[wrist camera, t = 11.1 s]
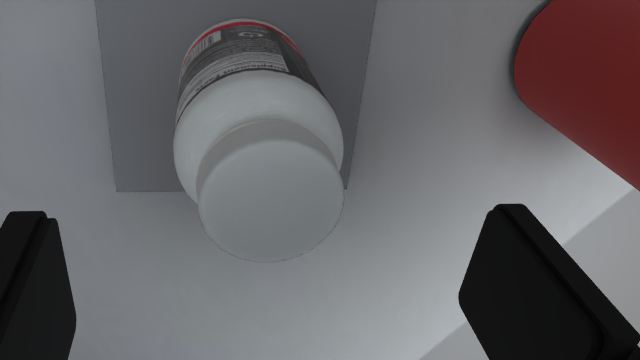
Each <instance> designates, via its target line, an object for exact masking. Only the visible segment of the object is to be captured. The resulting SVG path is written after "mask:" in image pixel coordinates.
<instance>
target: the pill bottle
mask: <svg viewBox="0 0 640 360" xmlns="http://www.w3.org/2000/svg"><path fill="white" fill-rule="evenodd" d="M343 149H344V147H343V137H342V132H341V128H340V125H339V122H338V119H337V117H336V114H335V112H334V109H333V107H332V106H331V104H330V103H329V101H328V100H327V98H326V97H325V95H324V94H323V92H322V90H321V88H320V87H319V85H318V83H317V81H316V79H315V77H314V75H313V73H312V71H311V70H310V68H309V66H308V64H307V62H306V60H305V58H304V57H303V55H302V53H301V52H300V50H299V49H298V47H297V46H296V44H295V43H294V42H293V40H292V39H291V38H290V37H289V36H288V35H286V34H285V33H284V32H283V31H281V30H280V29H278V28H277V27H275V26H273V25H271V24H269V23H266V22H263V21H259V20H253V19H231V20H228V21H224V22H221V23H219V24H216V25H214V26H212V27H210V28H208V29H207V30H205V31H204V32H203V33H202V34H201V35H199V36H198V37H197V38H196V40H195V41H194V42H193V43H192V44H191V46H190V48H189V49H188V51H187V53H186V55H185V58H184V60H183V64H182V68H181V73H180V78H179V89H178V100H177V112H176V122H175V129H174V140H173V151H174V162H175V168H176V171H177V175H178V177H179V180H180V182H181V184H182V186H183V188H184V190H185V191H186V193H187V194H188V195H189V197H190V198H191V199H192V200H193V201H194V202H195V203H196V204H197V205H198V211H199V216H200V220H201V223H202V225H203V227H204V229H205V231H206V233H207V234H208V236H209V237H210V239H211V240H212V241H213V242H214V243H215V244H216V245H217V246H219V247H220V248H221V249H222V250H224V251H226V252H227V253H229V254H231V255H233V256H236V257H238V258H241V259H244V260H248V261H254V262H277V261H283V260H288V259H291V258H294V257H297V256H299V255H302V254H303V253H305V252H308V251H309V250H311V249H313V248H314V247H315V246H317V245H318V244H320V243H321V242H322V241H323V240H324V239H325V238H326V237H327V236H328V235H329V234H330V233H331V231H332V230H333V229H334V227H335V226H336V224H337V222H338V220H339V218H340V215H341V212H342V209H343V204H344V187H343V182H342V178H341V176H340V173H339V172H340V168H341V165H342V160H343Z"/></svg>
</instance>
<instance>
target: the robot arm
mask: <svg viewBox="0 0 640 360" xmlns="http://www.w3.org/2000/svg"><path fill="white" fill-rule="evenodd" d="M458 298H459V304H460V307H461V309H462V311H463V313H464V314H465V316H466V318H467V320H468V322H469V324H470V325H471V327H472V329H473V331H474V333H475V334H476V336H477V338H478V340H479V342H480V343H481V345H482V347H483V349H484V351H485V353H486V354H487V356H488V358H489V360H640V348H639V347H638V345H637V344H638V343H639V341H640V334H639V333H638V332H637V331H636V330H635V329H634V328H633V327H632V325H631V324H630V323H629V322H628V321H627V320H626V319H625V318H624V316H623V315H622V314H621V313H620V312H619V311H618V310H617V309H616V307H615V306H614V305H613V304H612V303H611V302H610V301H609V300H608V298H607V297H606V296H605V295H604V294H603V293H602V292H601V291H600V289H598V287H597V286H596V285H595V284H594V283H593V281H592V280H591V279H590V278H589V277H588V276H587V275H586V274H585V272H584V271H583V270H582V269H581V268H580V267H579V266H578V265H577V263H576V262H575V261H574V260H573V259H572V258H571V257H570V256H569V254H568V253H567V252H566V251H565V250H564V249H563V248H562V247H561V245H560V244H559V243H558V242H557V241H556V240H555V239H554V237H553V236H552V235H551V234H550V233H549V232H548V231H547V230H546V228H545V227H544V226H543V225H542V224H541V223H540V222H539V221H538V219H537V218H536V217H535V216H534V215H533V214H532V213H531V212H530V210H529V209H528V208H527V207H526V206H525V205H523V204H498V205H496V206H495V207H494V209H493V210H491V211H489V212H488V214H487V216H486V218H485V221H484V224H483V227H482V229H481V232H480V235H479V238H478V241H477V243H476V246H475V249H474V252H473V254H472V257H471V260H470V263H469V266H468V268H467V271H466V274H465V277H464V280H463V282H462V285H461V288H460V291H459V297H458ZM75 329H76V311H75V306H74V302H73V297H72V292H71V287H70V282H69V277H68V272H67V267H66V262H65V257H64V252H63V247H62V242H61V237H60V232H59V227H58V223H57V220H56V219H55V218H47V215H46V214H45V212H43V211H14V212H10V213H9V214H8V215H7V217H6V219H5V221H4V223H3V224H2V226H1V228H0V360H68V356H69V352H70V349H71V345H72V341H73V338H74V334H75Z"/></svg>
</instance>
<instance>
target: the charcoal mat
mask: <svg viewBox="0 0 640 360" xmlns="http://www.w3.org/2000/svg"><path fill="white" fill-rule="evenodd" d="M376 3H377V0H95V6H96V14H97V23H98V32H99V41H100V50H101V59H102V68H103V77H104V86H105V94H106V103H107V112H108V121H109V130H110V139H111V148H112V157H113V166H114V174H115V183H116V192H166V191H185V190H184V188H183V186H182V184H181V182H180V180H179V177H178V175H177V171H176V168H175V162H174V151H173V140H174V129H175V122H176V112H177V100H178V89H179V78H180V73H181V68H182V64H183V60H184V58H185V55H186V53H187V51H188V49H189V48H190V46H191V44H192V43H193V42H194V41H195V40H196V38H197V37H198V36H199V35H201V34H202V33H203V32H204V31H205V30H207V29H208V28H210V27H212V26H214V25H216V24H219V23H221V22H224V21H228V20H231V19H253V20H259V21H263V22H266V23H269V24H271V25H273V26H275V27H277V28H278V29H280V30H281V31H283V32H284V33H285V34H286V35H288V36H289V37H290V38H291V39H292V40H293V42H294V43H295V44H296V46H297V47H298V49H299V50H300V52H301V53H302V55H303V57H304V58H305V60H306V62H307V64H308V66H309V68H310V70H311V71H312V73H313V75H314V77H315V79H316V81H317V83H318V85H319V87H320V88H321V90H322V92H323V94H324V95H325V97H326V98H327V100H328V101H329V103H330V104H331V106H332V107H333V109H334V112H335V114H336V117H337V119H338V122H339V125H340V128H341V132H342V137H343V147H344V149H343V160H342V165H341V168H340V172H339V173H340V176H341V178H342V182H343V187H344V189H347V183H348V177H349V171H350V164H351V158H352V152H353V146H354V139H355V133H356V127H357V121H358V115H359V108H360V102H361V96H362V90H363V84H364V77H365V71H366V65H367V59H368V52H369V46H370V40H371V34H372V28H373V21H374V15H375V9H376Z"/></svg>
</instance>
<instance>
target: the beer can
mask: <svg viewBox="0 0 640 360" xmlns="http://www.w3.org/2000/svg"><path fill="white" fill-rule="evenodd" d="M514 81H515V84H516V87H517V90H518V94H519V97H520V99H521V100H522V101H523V102H524V103H525V104H526V105H527V106H528V108H529V109H530V110H531V111H533V112H534V113H535V114H537V115H538V116H539V117H541V118H542V119H543V120H545V121H546V122H547V123H549V124H550V125H551V126H553V127H554V128H555V129H557V130H558V131H560V132H561V133H562V134H564V135H565V136H566V137H568V138H569V139H570V140H572V141H573V142H574V143H576V144H577V145H578V146H580V147H581V148H582V149H584V150H585V151H586V152H588V153H589V154H590V155H592V156H593V157H594V158H596V159H597V160H598V161H600V162H601V163H602V164H604V165H605V166H607V167H608V168H609V169H611V170H612V171H613V172H615V173H616V174H617V175H619V176H620V177H621V178H623V179H624V180H625V181H627V182H628V183H629V184H631V185H632V186H633V187H635V188H636V189H637V190H639V191H640V0H552V1H551V2H550V3H549V4H548V5H547V6H546V7H545V8H544V9H543V10H542V11H541V12H540V13H539V14H538V15H537V16H536V17H535V18H534V19H533V21H532V23H531V24H530V26H529V27H528V29H527V30H526V32H525V34H524V35H523V37H522V39H521V42H520V45H519V48H518V51H517V54H516V57H515V64H514Z"/></svg>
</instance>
